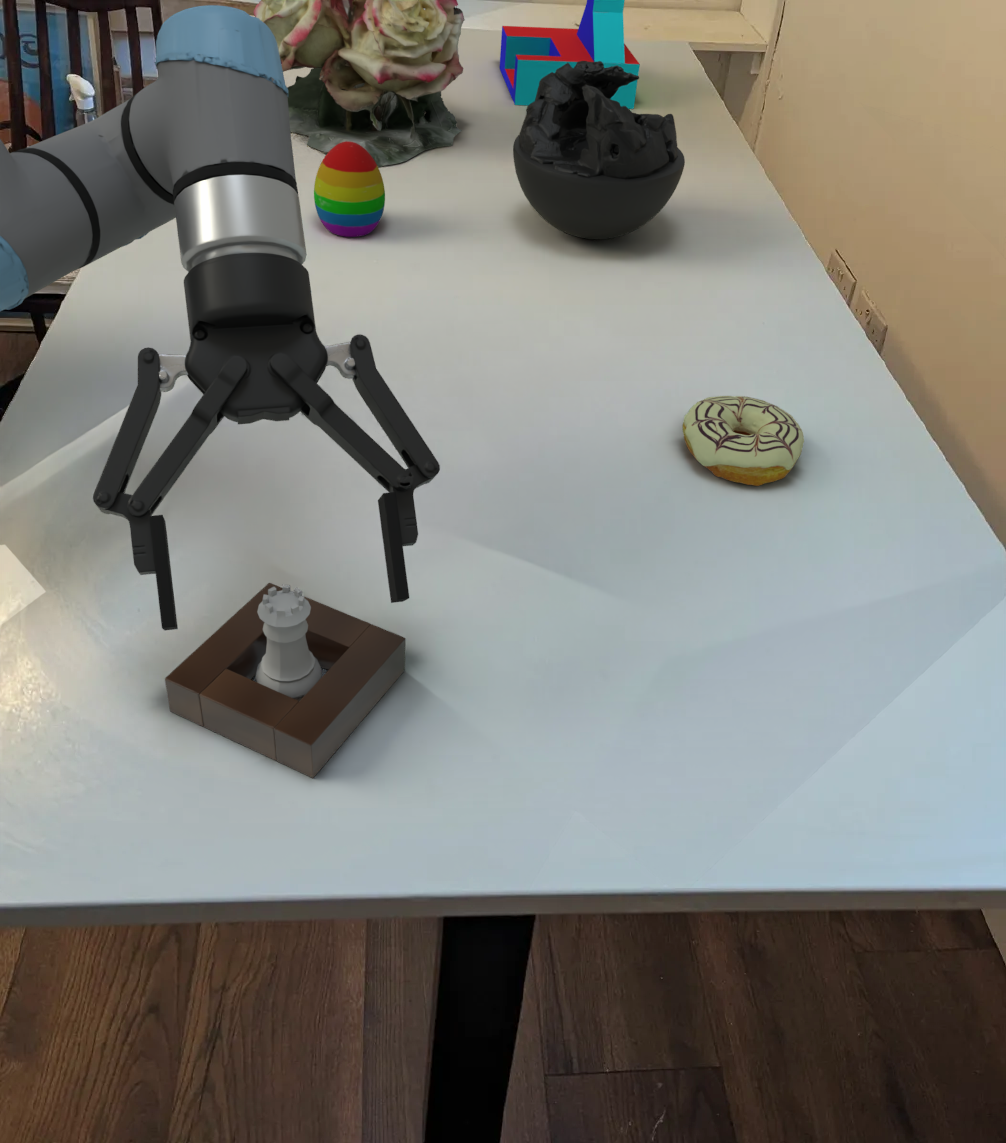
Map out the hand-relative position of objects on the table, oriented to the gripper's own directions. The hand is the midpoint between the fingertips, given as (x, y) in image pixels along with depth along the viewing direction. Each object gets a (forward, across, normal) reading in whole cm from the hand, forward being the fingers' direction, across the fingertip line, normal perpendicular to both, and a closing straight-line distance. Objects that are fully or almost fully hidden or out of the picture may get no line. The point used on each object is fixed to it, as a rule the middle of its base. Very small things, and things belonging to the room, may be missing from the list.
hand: (288, 615), depth 67 cm
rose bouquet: (-71, -25, -83) cm, 112 cm away
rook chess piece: (+5, 0, -8) cm, 9 cm away
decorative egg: (-48, -16, -61) cm, 79 cm away
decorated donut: (-10, -42, -23) cm, 49 cm away
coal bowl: (-45, -44, -58) cm, 86 cm away
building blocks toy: (-87, -60, -100) cm, 145 cm away
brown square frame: (+4, 0, -8) cm, 9 cm away
